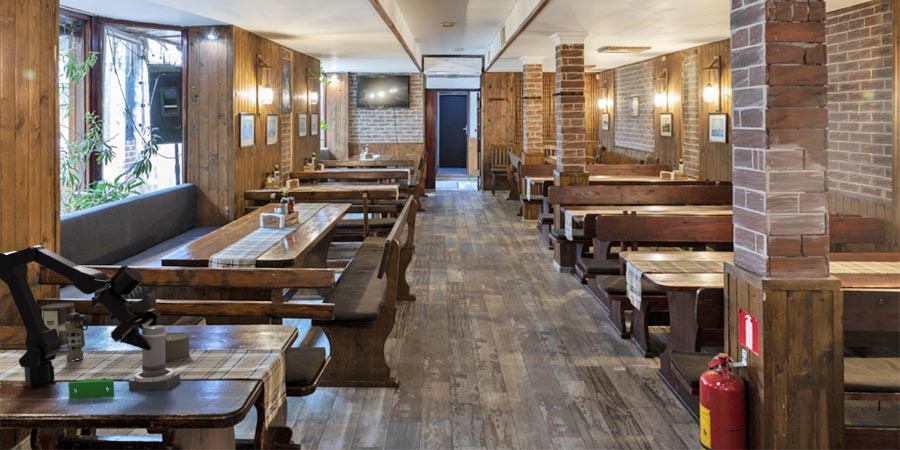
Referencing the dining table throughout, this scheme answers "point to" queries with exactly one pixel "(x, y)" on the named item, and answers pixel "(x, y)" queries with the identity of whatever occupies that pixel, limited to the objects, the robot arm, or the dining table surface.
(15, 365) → the dining table surface
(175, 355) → the can
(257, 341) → the dining table surface
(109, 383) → the pipe clamp
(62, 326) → the coffee can
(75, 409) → the dining table surface
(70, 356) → the grenade model
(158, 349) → the lens
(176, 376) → the octagonal tray on plate
